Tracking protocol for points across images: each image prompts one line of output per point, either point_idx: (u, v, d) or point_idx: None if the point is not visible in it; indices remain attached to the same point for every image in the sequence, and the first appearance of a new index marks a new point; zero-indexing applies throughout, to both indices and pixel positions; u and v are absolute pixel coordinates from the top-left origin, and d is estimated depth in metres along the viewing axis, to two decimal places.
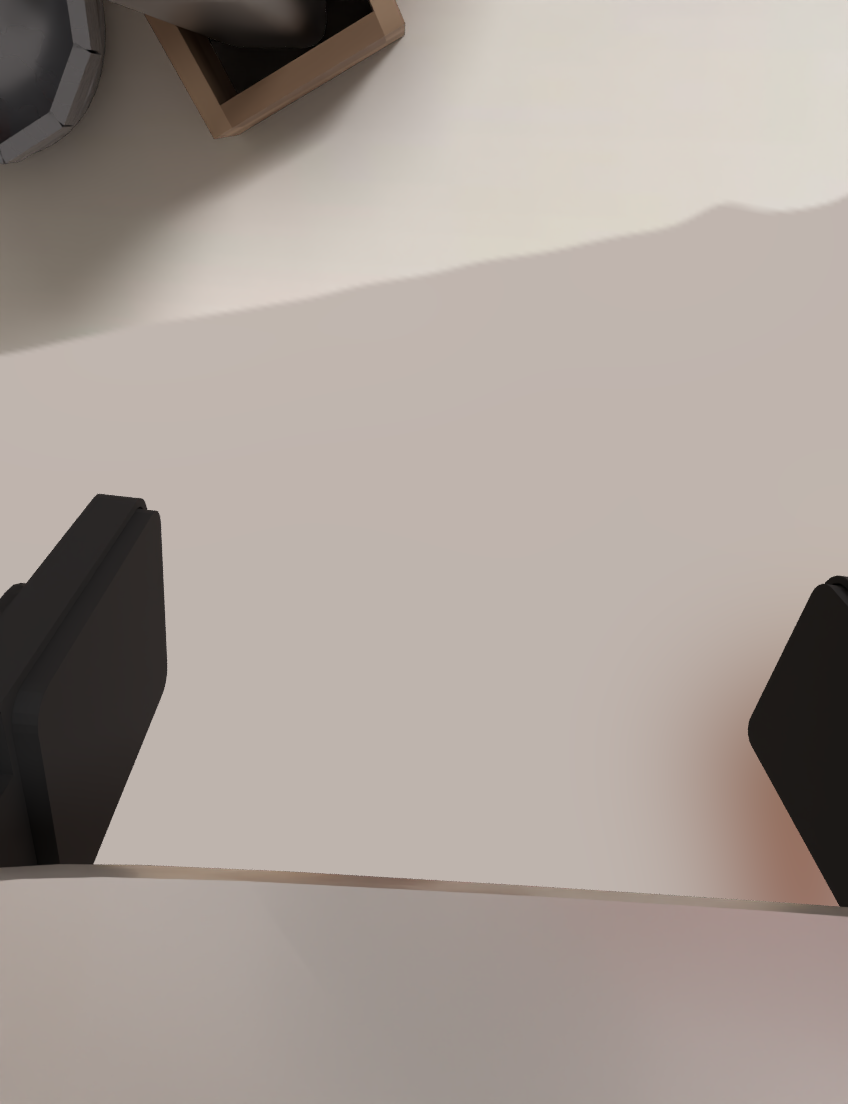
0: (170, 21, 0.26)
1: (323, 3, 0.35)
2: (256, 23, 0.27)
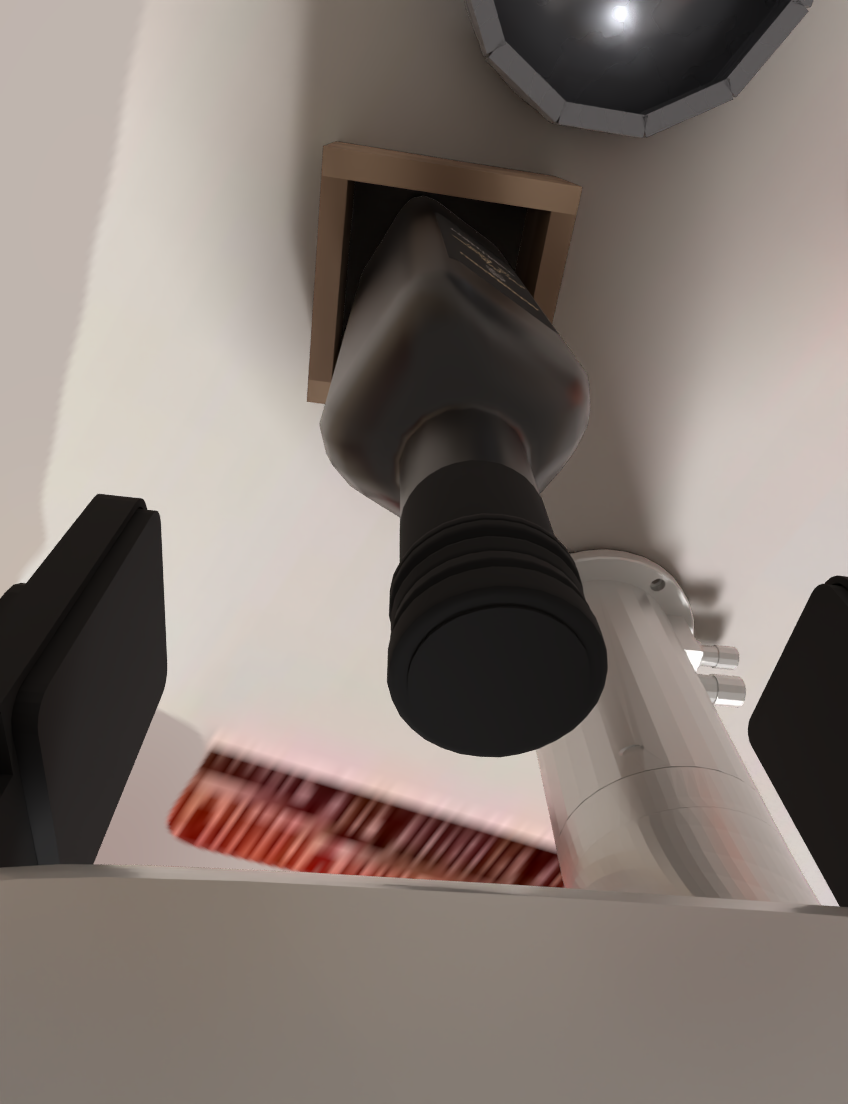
0: (397, 256, 0.23)
1: None
2: (348, 332, 0.24)
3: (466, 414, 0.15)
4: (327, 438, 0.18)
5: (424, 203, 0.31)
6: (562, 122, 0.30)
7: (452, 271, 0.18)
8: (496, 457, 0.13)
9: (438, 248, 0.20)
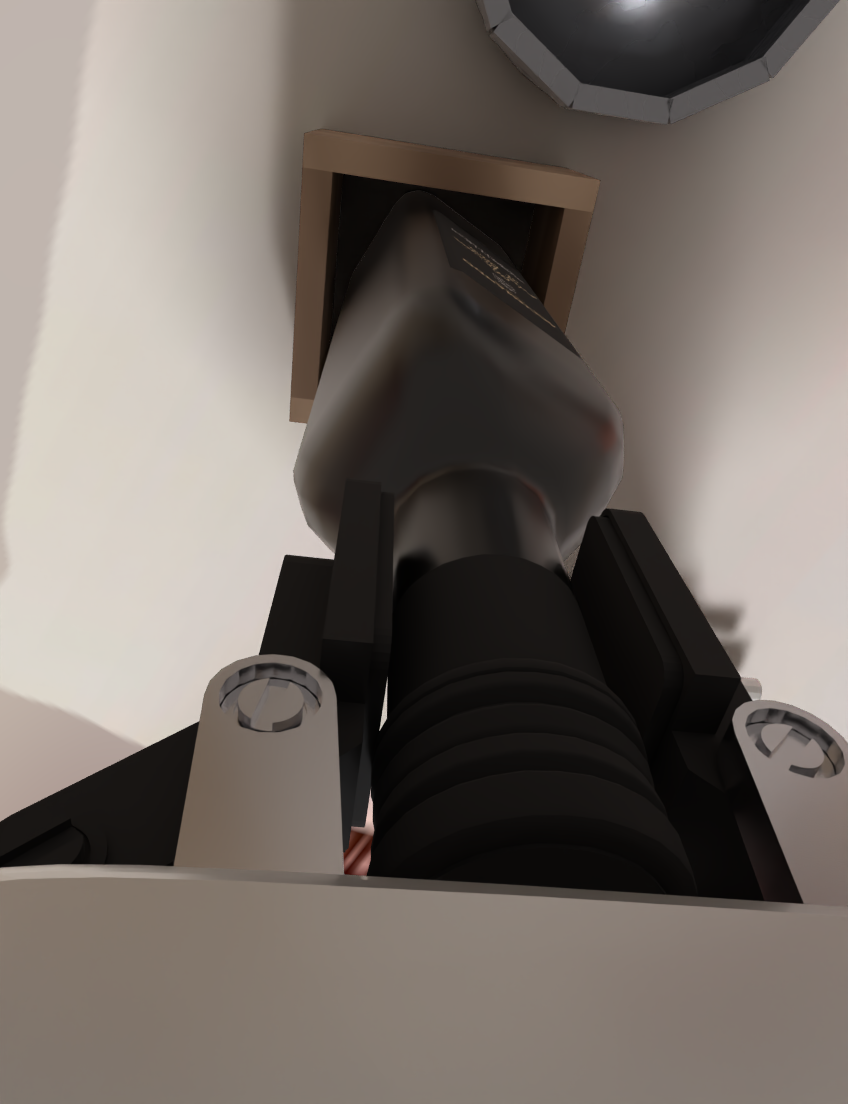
0: (389, 263, 0.19)
1: None
2: (332, 351, 0.21)
3: (474, 478, 0.12)
4: (300, 493, 0.15)
5: (420, 199, 0.27)
6: (576, 106, 0.27)
7: (455, 287, 0.14)
8: (517, 546, 0.10)
9: (437, 255, 0.17)
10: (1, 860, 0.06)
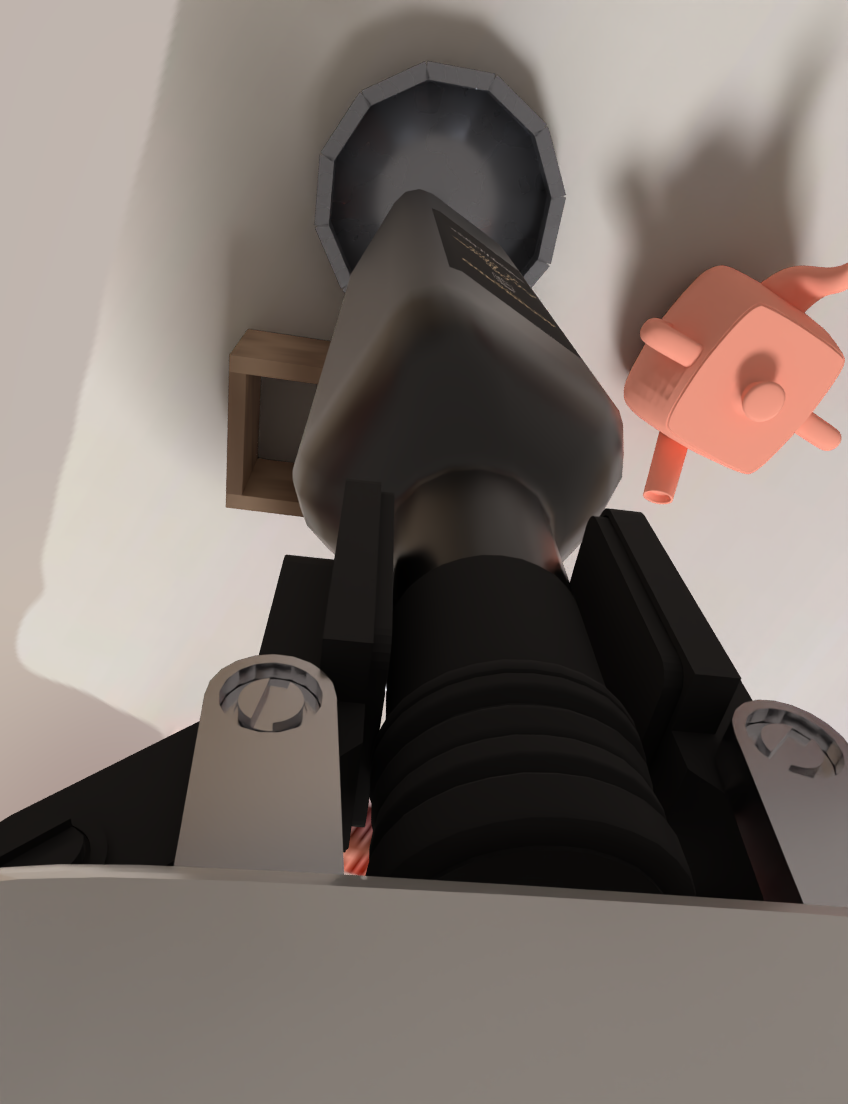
0: (388, 262, 0.19)
1: None
2: (331, 351, 0.21)
3: (473, 478, 0.12)
4: (300, 493, 0.15)
5: (420, 198, 0.27)
6: None
7: (454, 287, 0.14)
8: (515, 547, 0.10)
9: (436, 255, 0.17)
10: (2, 860, 0.06)
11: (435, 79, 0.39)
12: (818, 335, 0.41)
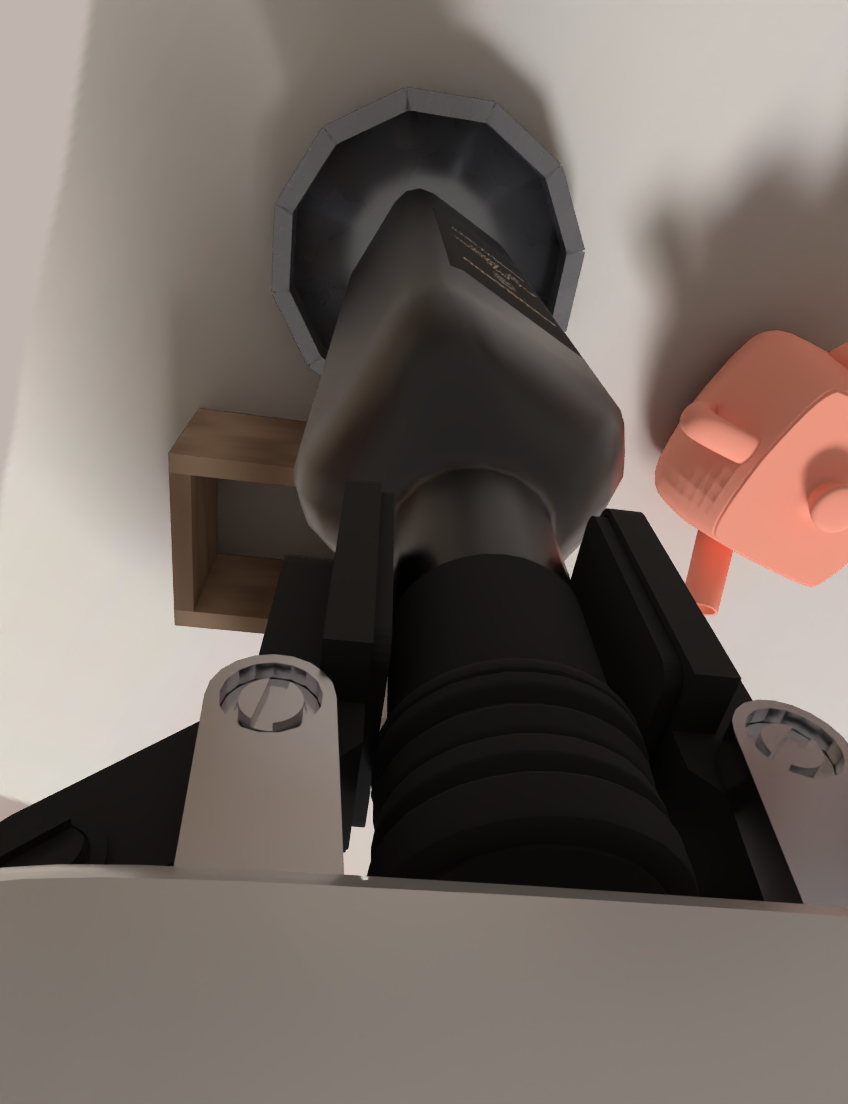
0: (389, 261, 0.19)
1: None
2: (332, 350, 0.21)
3: (475, 477, 0.12)
4: (300, 493, 0.15)
5: (420, 197, 0.27)
6: None
7: (455, 285, 0.14)
8: (517, 546, 0.10)
9: (437, 254, 0.17)
10: (2, 860, 0.06)
11: (418, 110, 0.31)
12: None
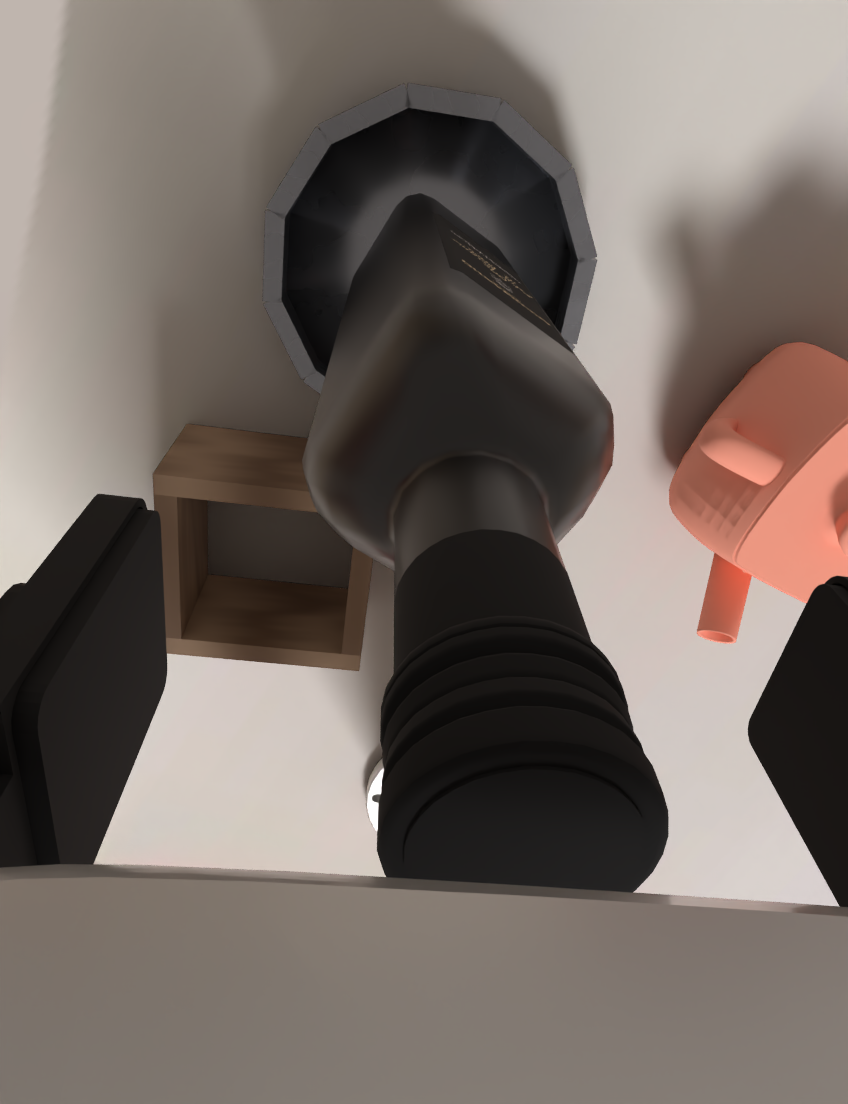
0: (391, 264, 0.20)
1: None
2: (336, 348, 0.22)
3: (473, 463, 0.13)
4: (310, 480, 0.15)
5: (421, 202, 0.28)
6: None
7: (455, 286, 0.15)
8: (512, 522, 0.11)
9: (437, 257, 0.18)
10: None
11: (419, 107, 0.29)
12: None
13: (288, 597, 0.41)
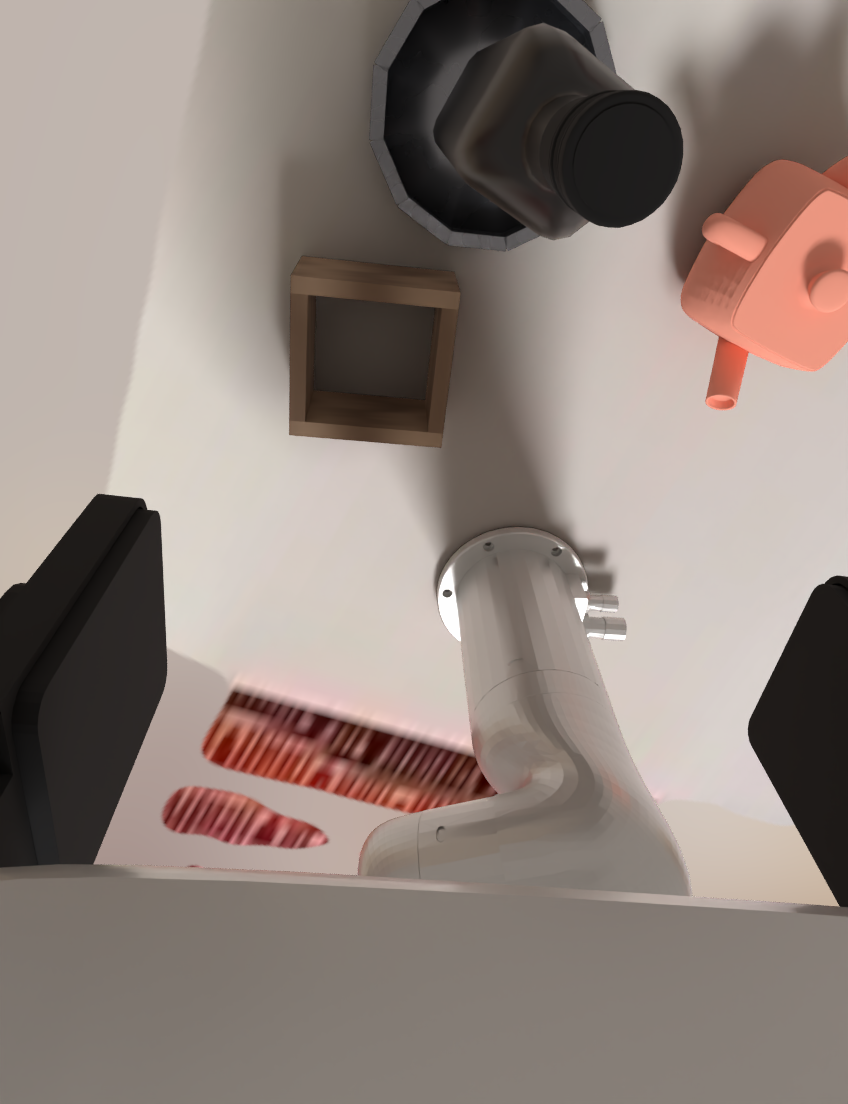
0: (493, 51, 0.31)
1: None
2: (453, 120, 0.32)
3: (572, 96, 0.23)
4: (466, 149, 0.26)
5: None
6: (450, 244, 0.46)
7: None
8: None
9: None
10: None
11: None
12: None
13: (379, 403, 0.52)
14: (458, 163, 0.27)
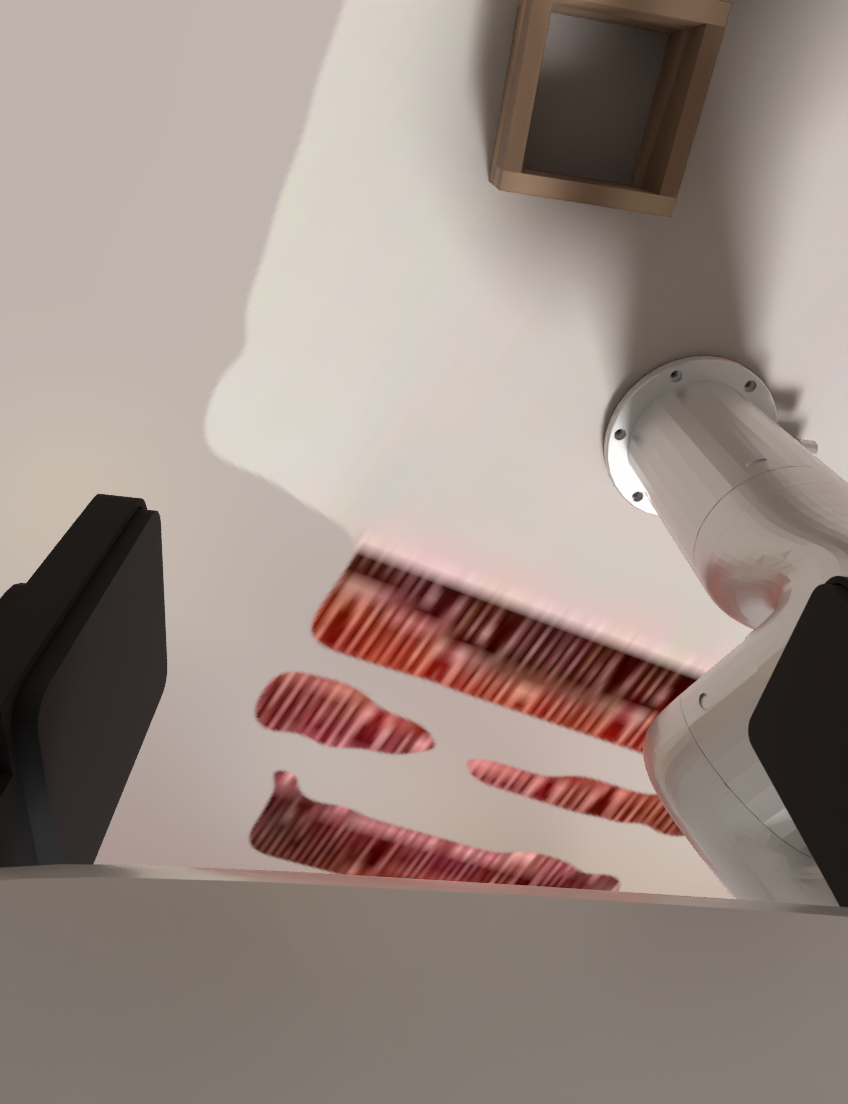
0: None
1: None
2: None
3: None
4: None
5: None
6: None
7: None
8: None
9: None
10: None
11: None
12: None
13: (586, 179, 0.45)
14: None
